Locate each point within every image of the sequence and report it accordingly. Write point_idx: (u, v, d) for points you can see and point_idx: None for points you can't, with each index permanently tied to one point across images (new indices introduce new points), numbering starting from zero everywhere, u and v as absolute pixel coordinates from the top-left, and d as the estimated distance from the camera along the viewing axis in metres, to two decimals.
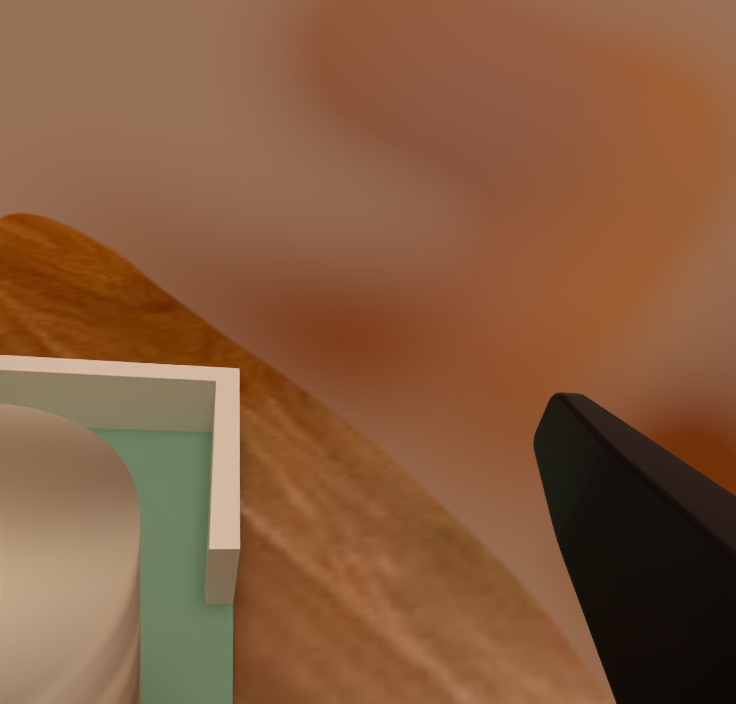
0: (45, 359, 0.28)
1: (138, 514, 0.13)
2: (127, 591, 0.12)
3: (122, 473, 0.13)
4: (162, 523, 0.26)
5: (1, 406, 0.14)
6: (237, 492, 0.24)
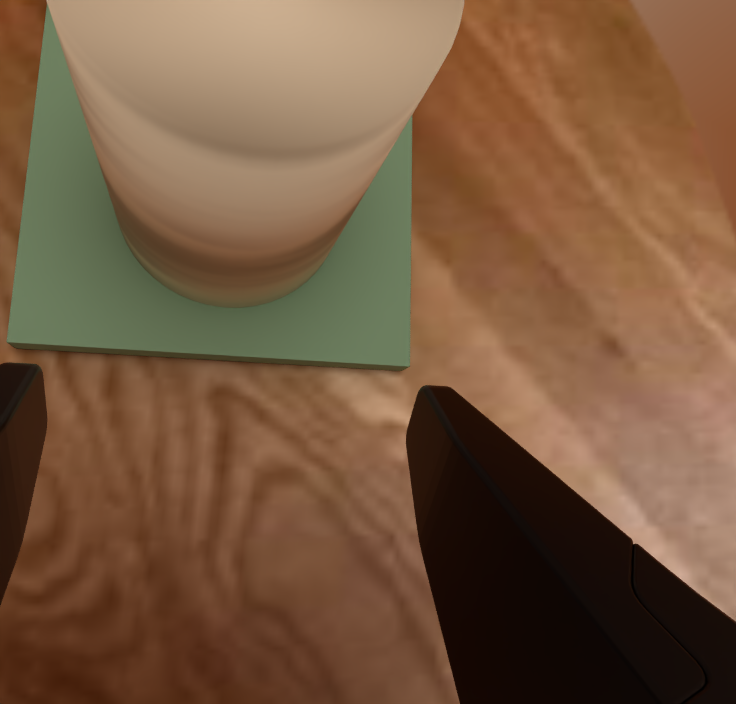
0: None
1: None
2: None
3: None
4: None
5: None
6: None
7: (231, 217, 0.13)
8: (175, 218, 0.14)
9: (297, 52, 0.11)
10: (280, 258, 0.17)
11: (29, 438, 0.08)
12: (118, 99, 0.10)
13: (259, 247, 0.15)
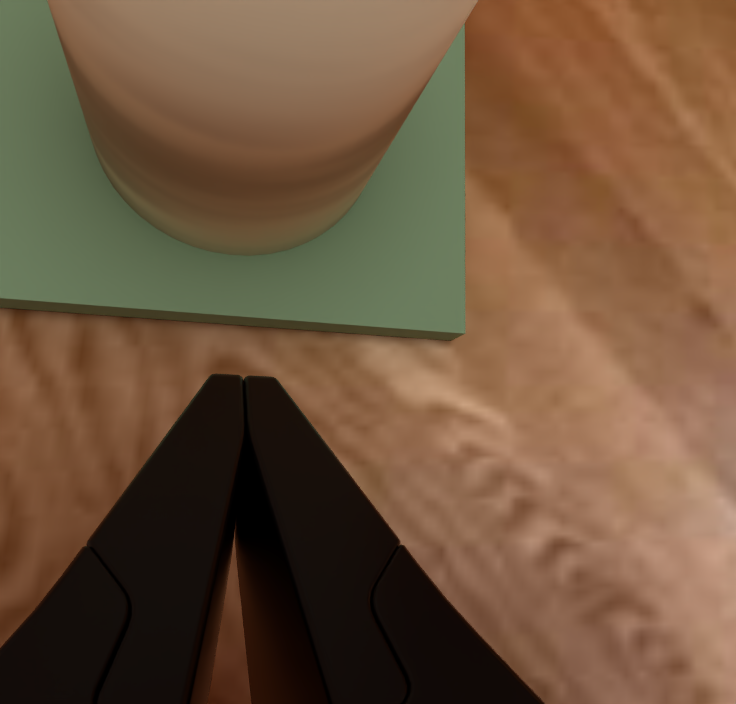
0: None
1: None
2: None
3: None
4: None
5: None
6: None
7: (249, 76, 0.09)
8: (162, 88, 0.09)
9: None
10: (311, 170, 0.12)
11: None
12: None
13: (286, 144, 0.11)
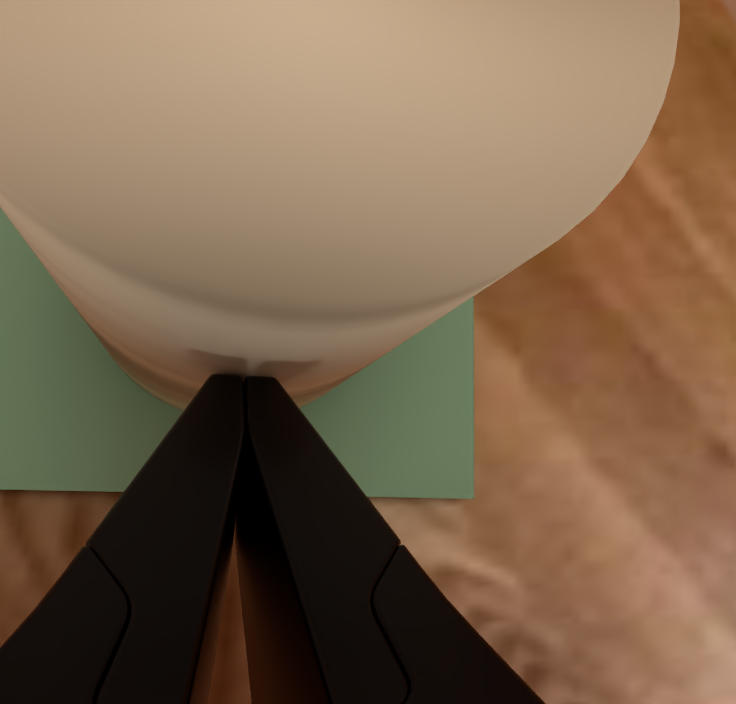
0: None
1: None
2: None
3: None
4: None
5: None
6: None
7: (246, 370, 0.08)
8: (155, 358, 0.09)
9: (384, 117, 0.05)
10: (314, 389, 0.11)
11: None
12: (26, 213, 0.05)
13: (287, 388, 0.10)
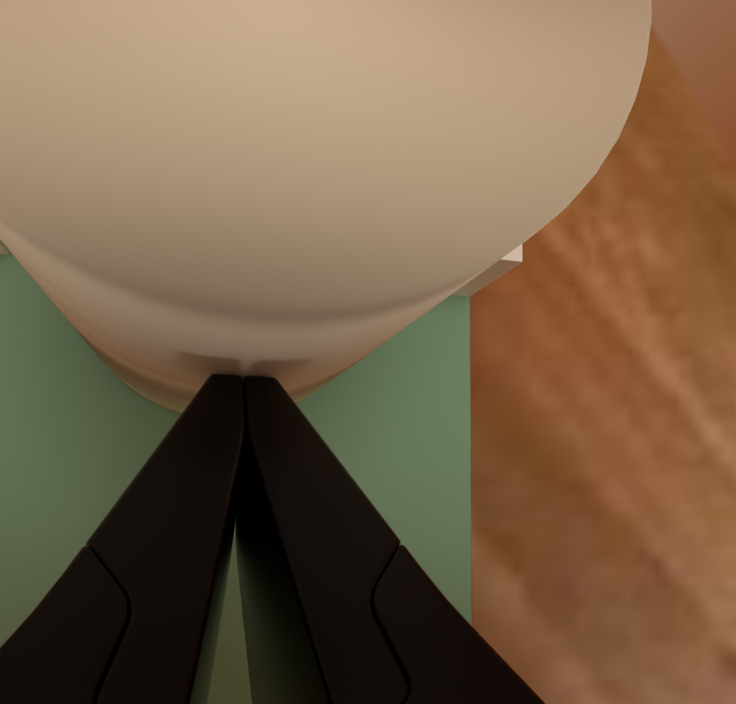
0: None
1: None
2: None
3: None
4: None
5: None
6: None
7: (229, 370, 0.08)
8: (138, 359, 0.09)
9: (355, 116, 0.05)
10: (300, 388, 0.11)
11: None
12: None
13: None
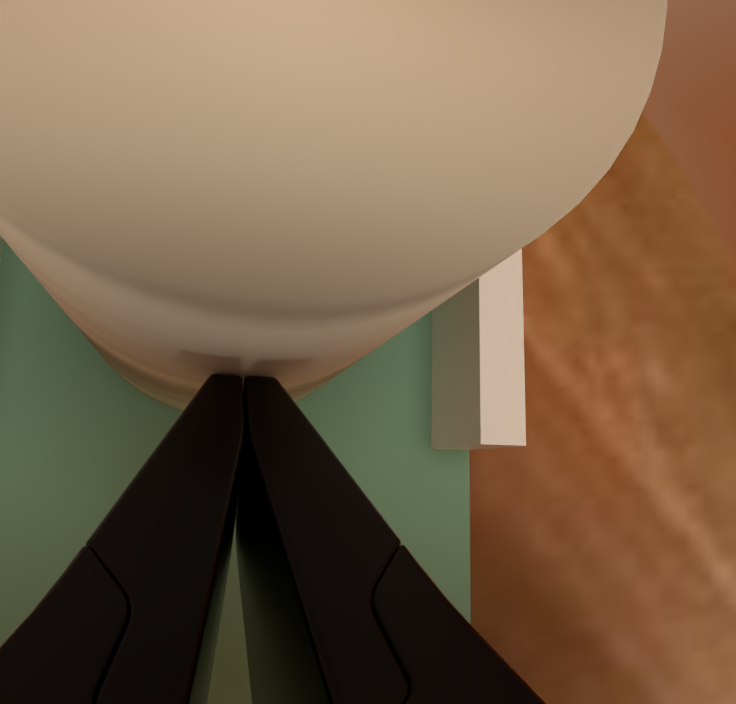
0: None
1: None
2: None
3: None
4: None
5: None
6: (519, 326, 0.14)
7: (232, 367, 0.08)
8: (140, 356, 0.09)
9: (365, 107, 0.05)
10: (304, 386, 0.11)
11: None
12: None
13: None
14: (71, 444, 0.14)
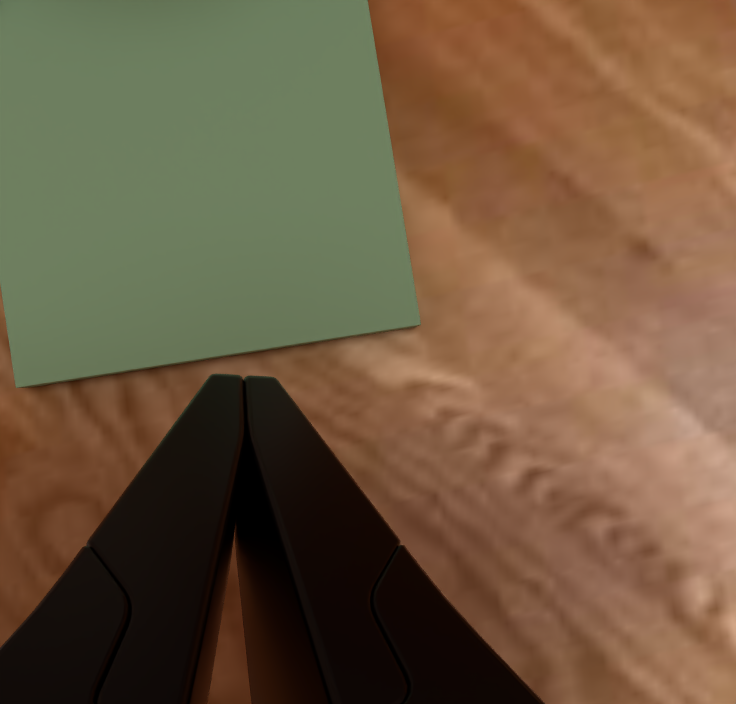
0: None
1: None
2: None
3: None
4: None
5: None
6: None
7: None
8: None
9: None
10: None
11: None
12: None
13: None
14: (61, 10, 0.20)
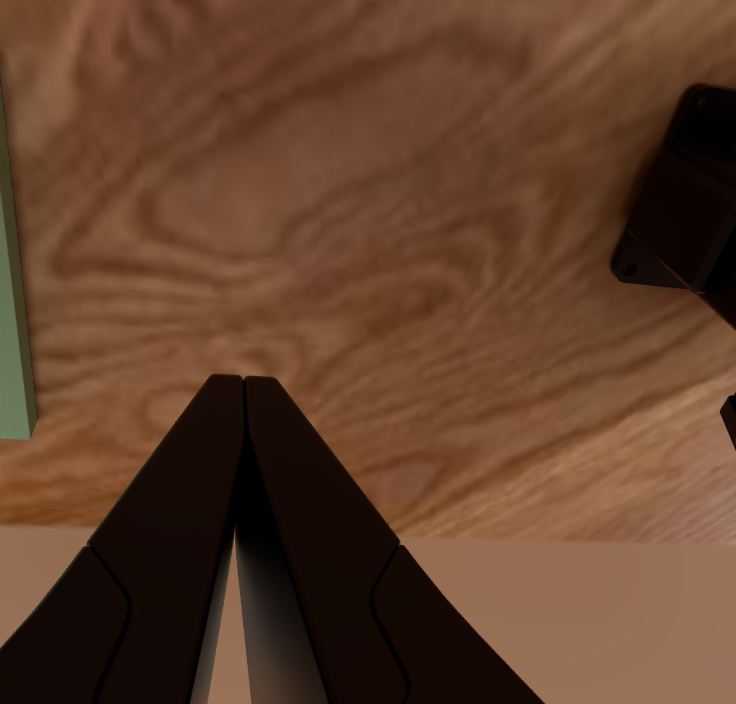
0: None
1: None
2: None
3: None
4: None
5: None
6: None
7: None
8: None
9: None
10: None
11: None
12: None
13: None
14: None
